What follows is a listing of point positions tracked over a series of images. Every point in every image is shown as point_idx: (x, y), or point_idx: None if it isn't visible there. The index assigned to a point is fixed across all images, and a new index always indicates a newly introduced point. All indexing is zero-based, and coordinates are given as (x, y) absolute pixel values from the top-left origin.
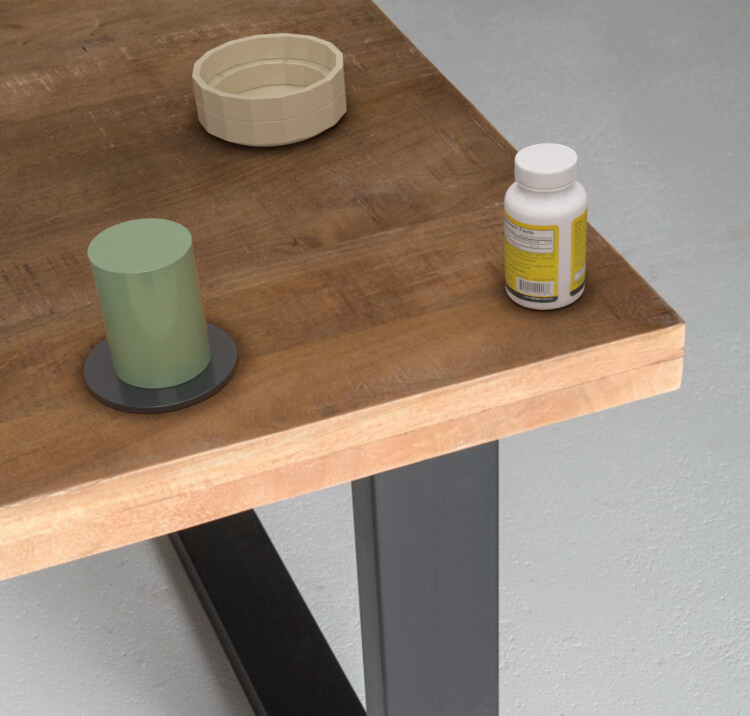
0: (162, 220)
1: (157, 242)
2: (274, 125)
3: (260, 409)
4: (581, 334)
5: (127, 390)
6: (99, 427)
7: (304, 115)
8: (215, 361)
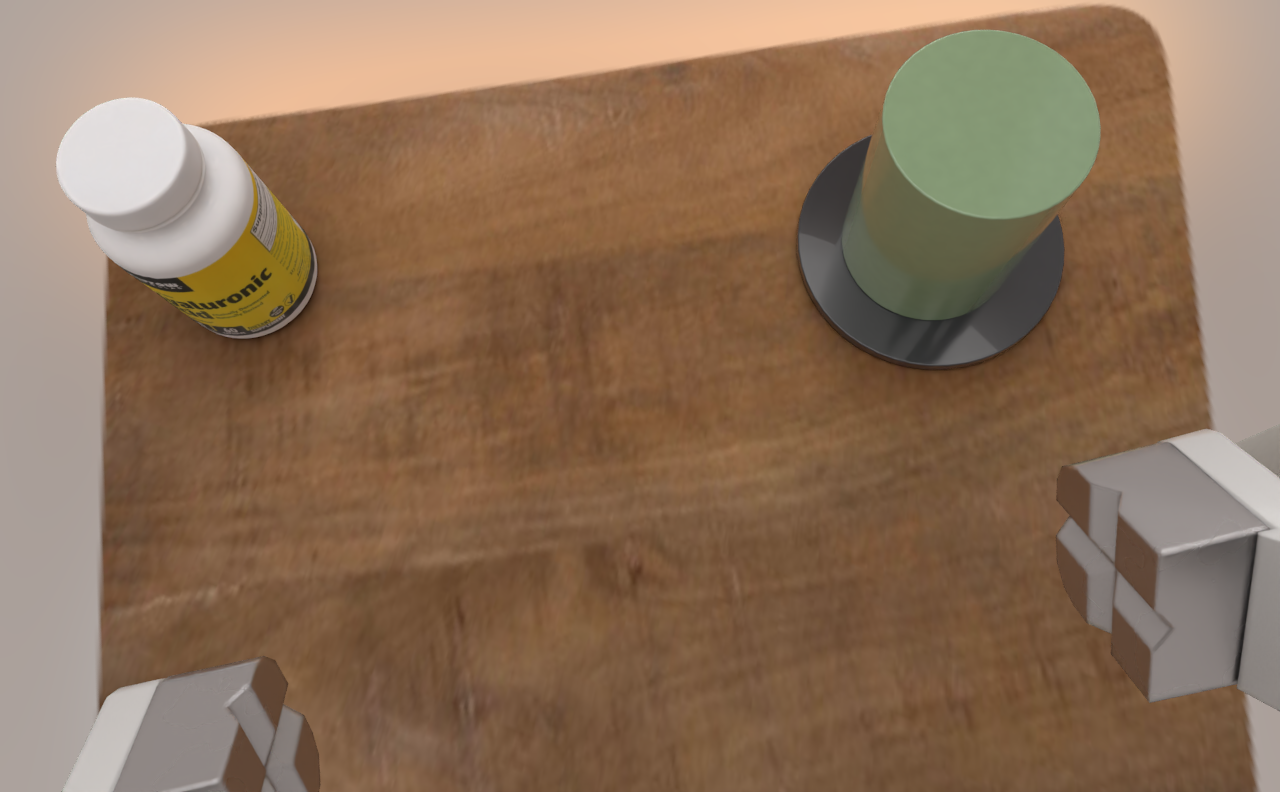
0: (940, 195)
1: (953, 118)
2: None
3: (777, 102)
4: (253, 151)
5: None
6: None
7: None
8: (836, 213)
